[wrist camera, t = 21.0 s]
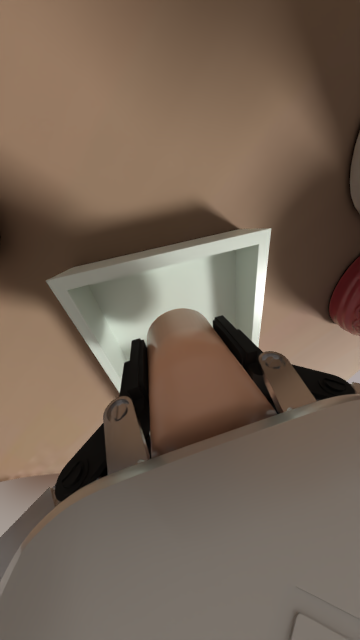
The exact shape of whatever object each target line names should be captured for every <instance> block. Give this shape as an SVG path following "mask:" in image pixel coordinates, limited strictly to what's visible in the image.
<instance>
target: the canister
mask: <svg viewBox="0 0 360 640" xmlns="http://www.w3.org/2000/svg"><path fill="white" fill-rule="evenodd" d="M329 314H330V317H331V319H332V321H333V322H334V323H336V324H338V325H339V326H340V327H341V328H342V329H344V330H346V331H348V332H350V333H351V334H354V335H358V336H360V256H359V257H358V258H357V259H356V260H355V261H354V262H353V263H352V264H351V266H350V267H349V268H348V269H347V270H346V272H345V273H344V275H343V276H342V277H341V279H340V280H339V282H338V284H337V286H336V288H335V290H334V292H333V294H332V297H331V300H330V305H329Z"/></svg>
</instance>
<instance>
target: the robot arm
mask: <svg viewBox="0 0 360 640" xmlns="http://www.w3.org/2000/svg"><path fill="white" fill-rule="evenodd" d="M350 189H351V197H352V200H353V203H354V206H355V208H356V209H357V211H358V212H359V213H360V132H359V135H358V138H357V141H356V145H355V148H354V153H353V158H352V163H351V173H350ZM213 328H214V330H215V331H216V332H217V334H218V335H219V336H220V338H221V339H222V340H223V342H224V343H225V344H226V346H227V347H228V348H229V350H230V351H231V352H232V354H233V355H234V356H235V357H236V359H237V360H238V361H239V363H240V364H241V365H242V367H243V368H244V369H245V371H246V372H247V373H248V375H249V376H250V377H251V379H252V380H253V381H254V383H255V384H256V385H257V387H258V388H259V389H260V391H261V392H262V393H263V395H264V396H265V397H266V399H267V400H268V401H269V403H270V404H271V405H272V407H273V408H274V409H275V411H276V413H277V415H274V416H272V417H269V418H266V419H263V420H260V421H257V422H254V423H251V424H248V425H245V426H243V427H240V428H237V429H234V430H231V431H228V432H225V433H223V434H220V435H217V436H214V437H211V438H208V439H205V440H203V441H200V442H197V443H194V444H191V445H188V446H186V447H183V448H180V449H177V450H174V451H172V452H169V453H166V454H163V455H160V456H158V457H155V458H152V459H151V437H150V412H149V387H148V362H147V347H146V344H145V342H144V340H141V339H140V338H139V339H135V340H132V342H131V352H130V361H127V362H125V363H124V367H123V374H122V381H121V388H120V395H119V397H118V398H116V399H114V400H113V401H112V402H111V403H110V404H109V405H108V406H107V408H106V409H105V412H104V416H103V421H104V423H103V424H102V425H101V426H100V427H99V428H98V430H97V431H96V432H95V433H94V434H93V435H92V436H91V437H90V439H89V440H88V441H87V442H86V443H85V444H84V445H83V446H82V448H81V449H80V450H79V451H78V452H77V453H76V454H75V455H74V457H73V458H72V459H71V460H70V461H69V462H68V463H67V465H66V466H65V467H64V468H63V470H62V471H61V473H60V475H59V477H58V480H57V483H56V484H55V486H54V487H53V488H50V487H49V488H48V489H47V490H46V491H45V492H44V493H43V494H42V495H41V496H40V497H39V498H38V499H37V500H36V501H35V502H34V503H33V504H32V505H31V506H30V508H28V510H27V511H26V512H25V513H24V514H23V515H22V516H21V517H20V518H19V519H18V520H17V521H16V522H15V523H14V524H13V525H12V526H11V527H10V528H9V529H8V530H7V531H6V532H5V533H4V534H3V535H2V536H1V537H0V640H360V384H359V383H354V382H353V383H352V384H349V383H348V382H346V381H345V380H343V379H342V378H340V377H337V376H335V375H331V374H328V373H324V372H320V371H316V370H312V369H308V368H304V367H300V366H296V365H292V364H291V363H290V362H289V360H288V359H287V358H286V357H285V356H283V355H282V354H280V353H277V352H273V351H267V352H262V351H261V350H260V349H259V348H258V347H257V346H256V345H255V344H254V343H253V342H252V341H251V340H250V339H249V338H248V337H247V336H246V335H245V334H244V333H243V332H242V331H241V330H240V329H236V328H235V327H234V326H233V325H232V324H231V323H230V322H229V321H228V320H227V319H226V318H225V317H224V316H223V315H221V316H218V317H215V319H214V320H213Z"/></svg>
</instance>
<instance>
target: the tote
mask: <svg viewBox="0 0 360 640" xmlns="http://www.w3.org/2000/svg"><path fill="white" fill-rule="evenodd" d="M270 235H271V228H261V229H238V230H233V231H229V232H225V233H220V234H216V235H211V236H207V237H203V238H198V239H194V240H190V241H185V242H181V243H177V244H172V245H168V246H164V247H159V248H155V249H150V250H146V251H142V252H137V253H133V254H129V255H124V256H120V257H116V258H111V259H107V260H103V261H98V262H94V263H90V264H85V265H81V266H76V267H72V268H70V269H68V270H66V271H64V272H62V273H60V274H58V275H56V276H54V277H52V278H50V279H48V280H46V282H47V284H48V285H49V287H50V288H51V290H52V291H53V293H54V294H55V296H56V297H57V299H58V300H59V302H60V303H61V305H62V306H63V308H64V309H65V311H66V312H67V314H68V315H69V317H70V319H71V320H72V322H73V323H74V325H75V326H76V328H77V329H78V331H79V332H80V334H81V335H82V337H83V338H84V340H85V341H86V343H87V344H88V346H89V347H90V349H91V350H92V352H93V353H94V355H95V356H96V358H97V359H98V361H99V363H100V364H101V366H102V367H103V369H104V370H105V372H106V373H107V375H108V376H109V378H110V379H111V381H112V382H113V384H114V385H115V387H116V388H117V390H118V391H119V393H120V388H121V381H122V374H123V367H124V363H125V362H127V361H130V352H131V342H132V340H135V339H139V338H140V339H141V340H144V342H145V344H146V347H147V333H148V330H149V328H150V326H151V324H152V323H153V322H154V321H155V320H156V319H157V318H158V317H159V316H160V315H162V314H164V313H165V312H168V311H170V310H173V309H179V308H187V309H192V310H195V311H198V312H199V313H201V314H202V315H203V316H204V317H205V318H206V319H207V320H208V322H209V323H210V324H211V326H212V327H213V320H214V319H215V317H218V316H221V315H223V316H224V317H225V318H226V319H227V320H228V321H229V322H230V323H231V324H232V325H233V326H234V327H235V328H236V329H240V330H241V331H242V332H243V333H244V334H245V335H246V336H247V337H248V338H249V339H250V340H251V341H252V342H253V343H254V344H255V345H256V346H257V347H258V346H259V337H260V327H261V318H262V309H263V300H264V290H265V281H266V272H267V263H268V254H269V244H270Z"/></svg>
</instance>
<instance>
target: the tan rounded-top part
mask: <svg viewBox="0 0 360 640" xmlns="http://www.w3.org/2000/svg"><path fill="white" fill-rule="evenodd" d="M147 362H148V387H149V412H150V437H151V459H152V458H155V457H158V456H160V455H163V454H166V453H169V452H172V451H174V450H177V449H180V448H183V447H186V446H188V445H191V444H194V443H197V442H200V441H203V440H205V439H208V438H211V437H214V436H217V435H220V434H223V433H225V432H228V431H231V430H234V429H237V428H240V427H243V426H245V425H248V424H251V423H254V422H257V421H260V420H263V419H266V418H269V417H272V416H274V415H277V413H276V411H275V409H274V408H273V407H272V405H271V404H270V403H269V401H268V400H267V399H266V397H265V396H264V395H263V393H262V392H261V391H260V389H259V388H258V387H257V385H256V384H255V383H254V381H253V380H252V379H251V377H250V376H249V375H248V373H247V372H246V371H245V369H244V368H243V367H242V365H241V364H240V363H239V361H238V360H237V359H236V357H235V356H234V355H233V354H232V352H231V351H230V350H229V348H228V347H227V346H226V344H225V343H224V342H223V340H222V339H221V338H220V336H219V335H218V334H217V332H216V331H215V330H214V328H213V327H212V326H211V324H210V323H209V322H208V320H207V319H206V318H205V317H204V316H203V315H202V314H201V313H199V312H198V311H195V310H192V309H187V308H179V309H173V310H170V311H168V312H165V313H164V314H162V315H160V316H159V317H158V318H157V319H156V320H155V321H154V322H153V323H152V324H151V326H150V328H149V330H148V333H147Z"/></svg>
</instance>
